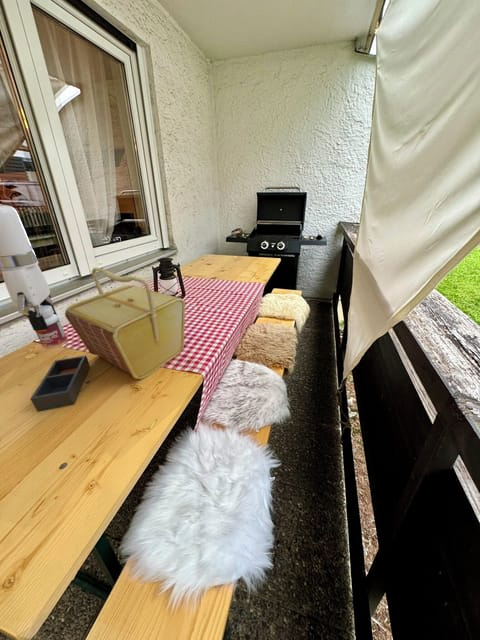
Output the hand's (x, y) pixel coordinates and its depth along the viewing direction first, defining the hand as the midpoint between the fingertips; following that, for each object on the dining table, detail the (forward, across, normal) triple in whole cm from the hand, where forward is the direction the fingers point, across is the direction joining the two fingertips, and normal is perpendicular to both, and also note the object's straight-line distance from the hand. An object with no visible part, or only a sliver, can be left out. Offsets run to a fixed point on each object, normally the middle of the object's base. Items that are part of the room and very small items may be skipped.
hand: (46, 323), depth 72 cm
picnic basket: (+20, -7, +20) cm, 29 cm away
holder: (+20, +4, 0) cm, 20 cm away
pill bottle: (+7, 0, 0) cm, 7 cm away
